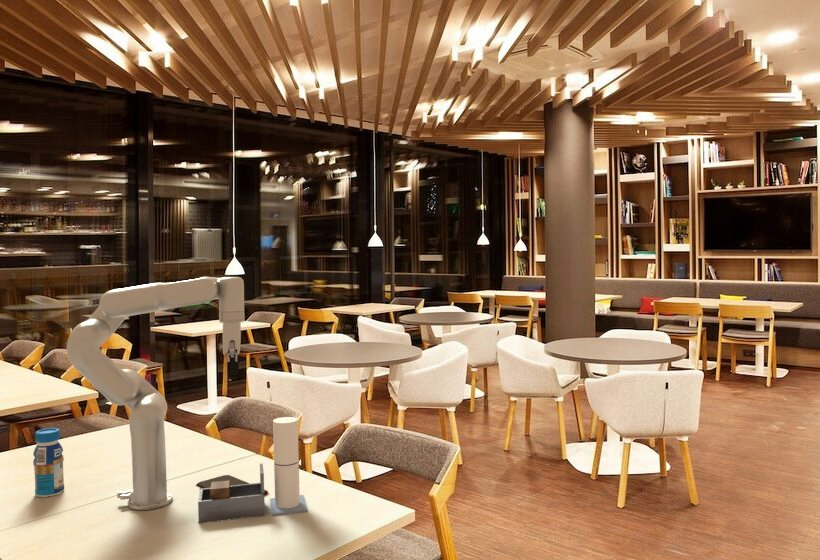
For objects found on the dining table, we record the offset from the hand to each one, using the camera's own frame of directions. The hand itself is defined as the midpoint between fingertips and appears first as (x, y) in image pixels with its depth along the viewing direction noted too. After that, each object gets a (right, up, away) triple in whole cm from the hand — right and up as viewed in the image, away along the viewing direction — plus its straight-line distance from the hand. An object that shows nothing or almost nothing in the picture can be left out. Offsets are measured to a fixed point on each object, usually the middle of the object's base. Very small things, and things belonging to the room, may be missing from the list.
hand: (233, 372), depth 202 cm
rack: (+3, -39, -13) cm, 41 cm away
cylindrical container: (+18, -38, -9) cm, 43 cm away
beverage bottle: (-59, -39, +5) cm, 71 cm away
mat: (+19, -38, -9) cm, 44 cm away
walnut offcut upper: (0, -35, -14) cm, 37 cm away
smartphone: (-2, -39, +6) cm, 39 cm away
